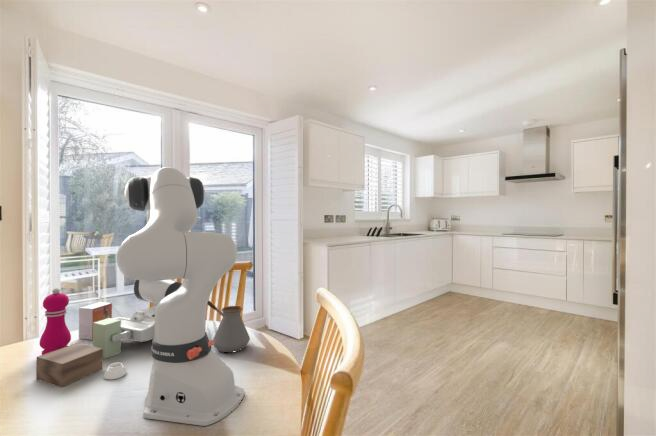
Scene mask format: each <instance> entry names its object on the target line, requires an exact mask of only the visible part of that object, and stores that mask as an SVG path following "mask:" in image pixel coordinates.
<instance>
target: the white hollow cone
mask: <svg viewBox="0 0 656 436" xmlns="http://www.w3.org/2000/svg"><path fill="white" fill-rule="evenodd" d="M127 372H128V371H127V369H126V368H125V366H124V365H123V363H122V362H114V363H111V364H108V367H107V369H106V370H105V372H104V374H103V378H104V379H105V380H115V379H116V380H117V379H120V378H122V377H123V376H125V375H126V374H127Z"/></svg>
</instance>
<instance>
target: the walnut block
mask: <svg viewBox="0 0 656 436" xmlns="http://www.w3.org/2000/svg"><path fill="white" fill-rule="evenodd" d="M103 360H104V359H103V348H98V347H94V346H93V345H91V344H90V345H89V344H84V343H82V342H81V343H80V342H76V343H74V344H73V343H72V344H70V345H67V347H64V348H61V349H58V350H55V351H52V352H50V353H47V354H44V355H42V354H41V355H37V356H36V367H35V368H36V370H35V371H36V372H35V373H36V374H35V379H36V380H37V381H41V382H44V383H47V384H51V385H53V386H56V387H60V388H64V387H67V386H69V385H71V384H73V383H75V382H77V380H78V381H79V380H82V379H84V378H86V377H89V376H91V375H93V374H95V373H99V372H100V371H102V370H103V364H104V363H103Z"/></svg>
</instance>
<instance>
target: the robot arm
mask: <svg viewBox="0 0 656 436" xmlns="http://www.w3.org/2000/svg"><path fill="white" fill-rule="evenodd" d="M124 197H125V199H126V202H127V204H128V205H129V206H128V207H130V208H131V209H132V210H134V211H138V212H145V211H146V225H145V226H143V228H141V229H140V230H138V231H137V232H135V233H133V234H130V235H129V236H127V237H126V238H125V239H124V240H123V241H122V242H121V244H119V245H120V246H119V247H118V251H117V253H116V263H117V267H118V269H119V271H120V272H121V273H122V275H123V276H124V277H125V278H127V279H129V280H135V282H134V285H133V294H134V296H135V297H136V298H137V299H139V300H141V301H146V302H150V303H152V306H151V307H148V308H145V309H141V310H138V311H135V312H134V313H133V314H132V316H131V317H127V316H126V317H124V316H115V317H112V318H113V319H118V320H121V333H119V334H113V335H111V336H110V341H114V342H115V341H118V340H121V341H122V340H130V341H137V342H147V341H150V340H151V348H150V349H151V356H152V358H153V360H152V367H151V370H150V376H149V382H148V391H147V394H146V397H145V401H144V406H145V407H144V410H143V413H142V416H143V418H144V419H151V420H157V421H166V422H172V423H181V424H187V425H194V426H200V427H204V426H205V427H206V426H210V425H212V424H215V423H216V422H219V421H221V420H222V419H224V418H226V417H227V416H228V415H229V414H231V413H232V412H233V411H234V410H235V409H236V408H237V407H238V406H240V404H241V403H242V401H243V400H244V398H245V389H244V388H242V387H240V386H238V385H236V384H235V378H234V377H235V376H234V373H233V370H232V369H231V368H230V367H229V366H228V365H227V364H226V363H225V362H224V361H223V360H221V358H220V357H219V356H218V355H217V354H216V353H214V351H213V350H212V346H214V345H213V344H215V343H213V341H214V340H215V339H214V338H213V339H212V340H210V339H209V336H208V333H207V331H206V320H207V309H208V305H207V303H208V301H210V300H209V299H210V296H211V294H212V291H213V290H214V288H215V286H216V285H217V284H218V282H219V281H220V280H221V278H223V277H224V275H226V274H227V273H228V272H229V271H231V269H232V268H233V267H234V265H235V263H236V261H237V257H238V248H237V246H236V243H235V241H234V240H233V238H232V237H231V236H230V235H229V234H227V233H226V234H225V233H220V232H215V231H190V230H192V229H193V227H195V225H196V223H197V222H198V219H199V218H198V217H199V212H198V209H199V208H201V206H203V204H204V201H205V197H206V190H205V187H204V185H203V182H202V181H201V180H200V179H199V178H196V177H193V176H192V177H191V176H188V177H187V176H186V175H185V173H184V172H183V171H181V170H180V169H178V168H176V167H173V166H172V167H170V166H165V167H161V168H159V169H158V170H156V171H155V172H154V173H153V175H147V176H143V175H137V176H133V177H131V178H129V179H128V180H127V183H126V185H125V189H124ZM178 279H179V280H180V279H183V281H182V282H179V281H177V280H178ZM243 397H244V398H243ZM242 399H243V400H242ZM241 400H242V401H241ZM240 402H241V403H240ZM239 403H240V404H239ZM231 411H232V412H231Z"/></svg>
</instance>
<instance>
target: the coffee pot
mask: <svg viewBox="0 0 656 436" xmlns="http://www.w3.org/2000/svg"><path fill="white" fill-rule="evenodd" d="M207 306H209V307H210V308H212V309H213V310H214V311H216V312H217V313H218V314H219V315H220V316H222V319H221V321H220V323H219V326H218V328H217V330H216V332H215V334H214V336H213V339H215V340H214V341H213V342H212V343H215V344H213V345H212V346H214V348H215V349H217V350H218V351H219V350H220V351H221V352H220V351H219V352H220V353H222V352H233V351H238V350H240V349H242V348H243V349H244V348H245V347H247V346H248V344H249V342H250V340H251V338H250V335H249V333H248V330H247V328H246V325H245V323H244V321H243V318H242V316H241V312H242V310H243V307H242V306H240V305H229V306H228V305H227V306H225V307H223V308H221V309H219V308H217V306H215V305H214V304H213V303H212V302H211V301H210V300H208V303H207ZM243 349H242V350H243Z"/></svg>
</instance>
